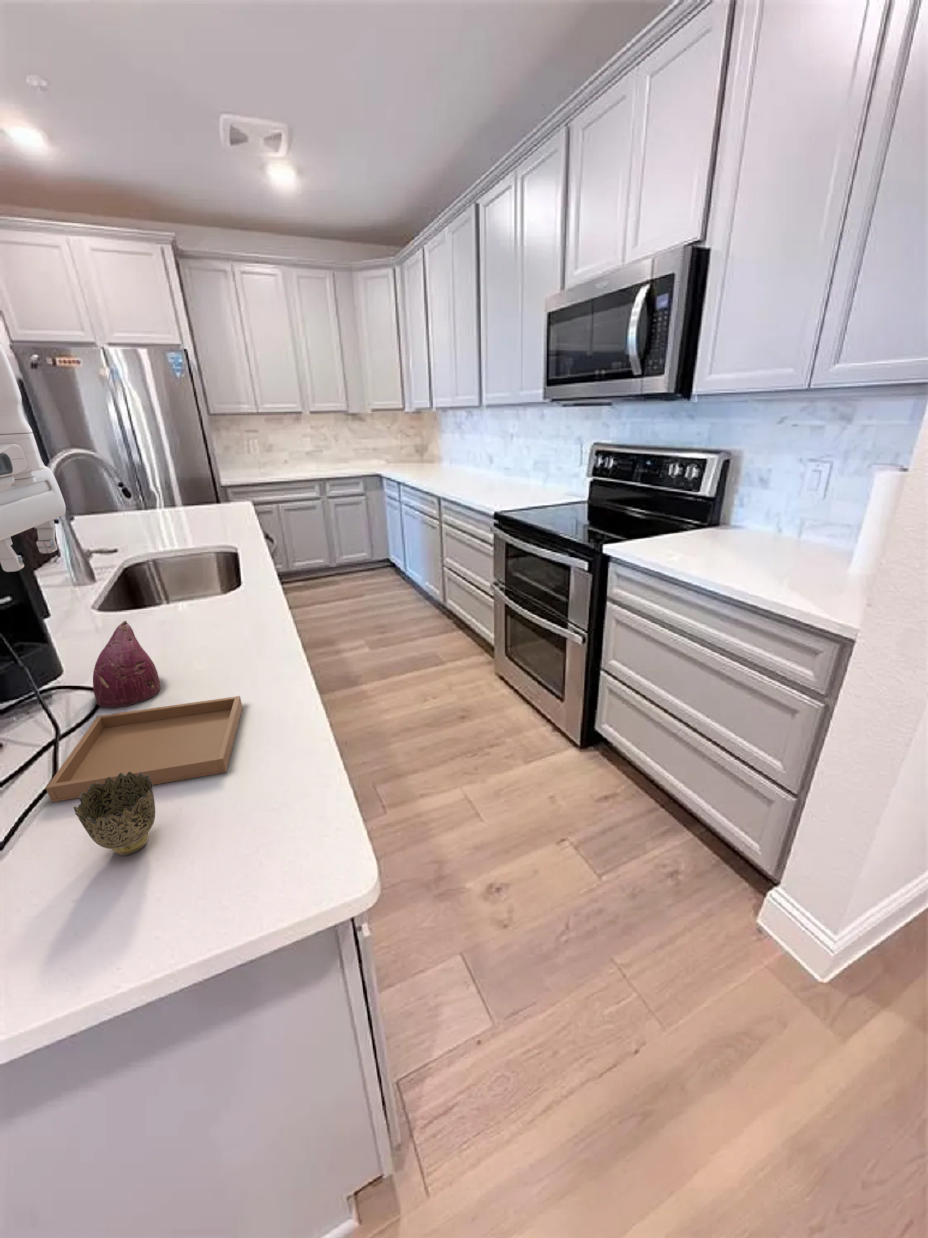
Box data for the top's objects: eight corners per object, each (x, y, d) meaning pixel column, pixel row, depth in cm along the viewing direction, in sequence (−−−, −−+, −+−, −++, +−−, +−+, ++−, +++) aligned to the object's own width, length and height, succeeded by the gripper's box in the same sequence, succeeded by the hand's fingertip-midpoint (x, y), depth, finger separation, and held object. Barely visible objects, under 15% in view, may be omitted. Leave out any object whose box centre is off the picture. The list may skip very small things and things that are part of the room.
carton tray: (51, 802, 67) (45, 788, 66) (101, 728, 83) (97, 715, 82) (226, 772, 72) (222, 758, 71) (242, 707, 88) (240, 695, 87)
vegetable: (147, 690, 100) (144, 615, 98) (172, 699, 94) (168, 619, 92) (84, 701, 92) (79, 619, 90) (106, 712, 86) (101, 624, 84)
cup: (158, 862, 58) (140, 808, 55) (84, 879, 56) (61, 823, 53) (173, 816, 65) (158, 765, 61) (107, 829, 63) (88, 777, 60)
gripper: (12, 452, 74) (43, 544, 80) (-88, 466, 56) (-40, 584, 61) (62, 451, 76) (88, 541, 81) (-21, 464, 58) (21, 580, 63)
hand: (33, 560), depth 71 cm, fingers open, 8 cm apart
